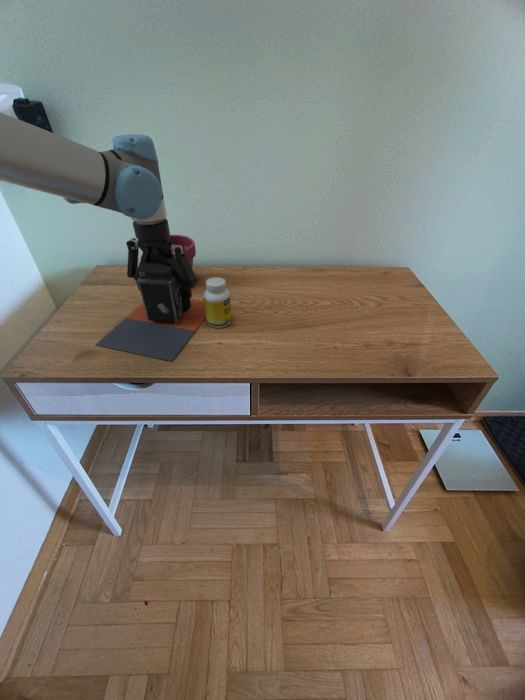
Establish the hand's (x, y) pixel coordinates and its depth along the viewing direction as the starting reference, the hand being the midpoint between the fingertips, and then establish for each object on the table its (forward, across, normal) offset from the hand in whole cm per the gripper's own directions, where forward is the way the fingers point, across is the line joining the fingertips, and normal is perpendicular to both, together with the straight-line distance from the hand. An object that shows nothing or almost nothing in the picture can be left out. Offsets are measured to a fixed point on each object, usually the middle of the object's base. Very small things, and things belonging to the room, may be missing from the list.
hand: (167, 305), depth 84 cm
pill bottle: (+3, -14, -1) cm, 14 cm away
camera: (+3, 0, 0) cm, 3 cm away
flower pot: (+3, +7, -17) cm, 19 cm away
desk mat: (+3, 0, +4) cm, 5 cm away
